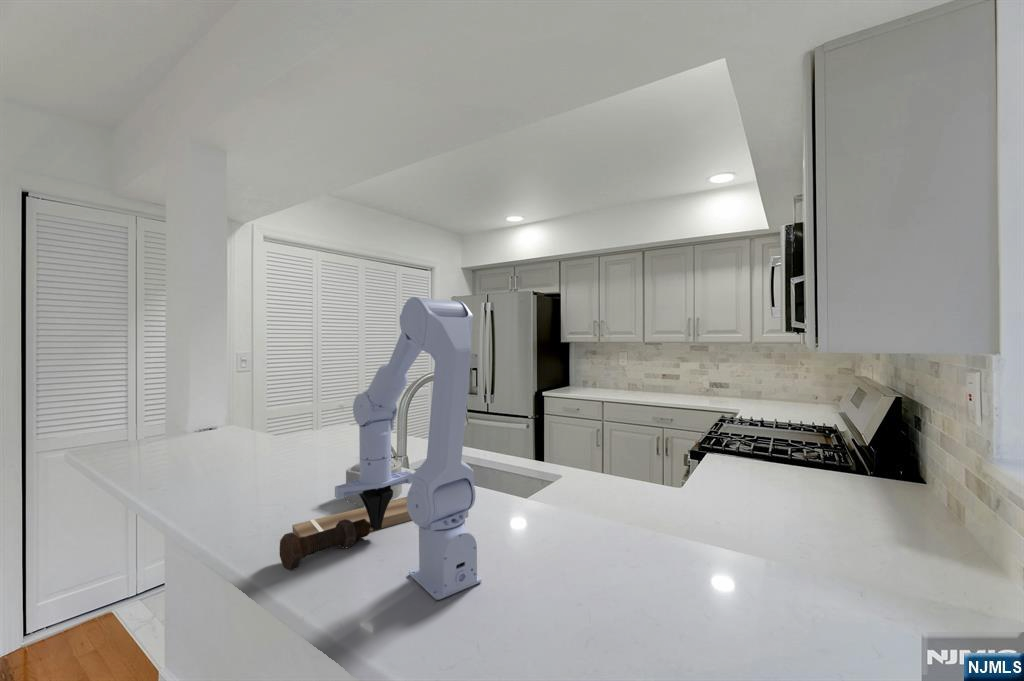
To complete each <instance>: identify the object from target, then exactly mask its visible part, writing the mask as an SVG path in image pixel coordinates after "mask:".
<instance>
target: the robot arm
mask: <svg viewBox="0 0 1024 681" xmlns="http://www.w3.org/2000/svg"><path fill="white" fill-rule="evenodd" d="M473 321H474V314H473V313H472V312H471V310H470V309H469V308H468V306H467V305H466V304H465V303H464V301H461V300H459V299H458V300H455V299H453V300H447V299H445V300H444V299H435V298H433V299H431V298H421V297H419V296H412V297H410V298H408V299H407V300H406V302H405V303H404V305H403V307H402V310H401V312H400V315H399V327H400V332H401V333H400V335H399V338H398V339H397V343H396V344H395V347H394V349H393V351H392V354H391V356H390V359H389V361H388V363H385V364H384V363H383V364H382V365H381V366H380V367H379V368H378V369H377V372H376V373H375V375H374V377H373V379H372V381H371V383H370V385H369V386H368V388H367V390H366V391H362V393H358V394H357V395H355V398H354V401H353V404H352V413H353V418H354V421H355V422H356V424H357V425H358V427H359V428H358V429H359V439H358V441H359V463H360V479H358V480H355V481H352V482H349V483H346V482H345V483H343V484H339V485H336V486H334V497H335V499H337V500H343V499H344V498H346V497H347V496H351V495H356V494H359V496H360V497H361V499H362V501H363V503H364V505H365V507H366V510H367V513H368V516H369V520H370V525H371V528H372V529H373V530H374V531H378V530H382V528H381V527H382V522H383V518H384V514H385V511H386V509H387V506H388V504H389V502H390V500H391V498H392V497H393V490H392V489H391V486H396V485H400V484H402V485H404V484H408V485H409V484H411V485H410V487H409V490H407V491H408V492H407V496H406V497H407V501H406V503H407V510H408V513H409V516H410V518H411V519H412V520H411V521H412V522H414V524H415V525H417V526H418V567H416V568H412V569H411V570H409V571H408V574H409V576H410V577H411V578H412V579H413V580H414V581H416V583H418V585H420V586H421V587H422V588H423V589H424V590H425V591H426V592H427V593H428V594H429V595H431V597H433V598H434V600H436V601H439V600H442V599H444V598H445V599H446V598H447V597H449V596H452V595H454V594H456V593H459V592H461V591H463V590H465V589H469V588H471V587H473V586H476V585H477V584H480V583H482V580H483V579H482V577H481V576H480V575H478V550H477V549H478V546H477V541H476V539H475V537H474V535H472V533H470V531H469V530H468V527H467V525H466V519H467V518H469V510H471V509H472V508H473V506H474V505H475V502H476V488H475V484H474V483H475V482H474V475H475V474H474V473H475V470H473V468H471V467H472V466H470V465H468V463H466V462H465V461H463V460H462V458H463V449H464V446H463V445H464V438H465V437H464V436H465V428H466V426H465V425H466V418H467V417H466V415H467V405H468V404H467V403H468V395H469V394H468V393H469V385H470V384H469V383H470V373H471V372H470V371H471V361H472V345H471V344H472V336H473V335H472V334H473V324H474V323H473ZM422 351H423V352H424V353H427V354H430V356H431V357H432V359H433V360H434V370H433V382H432V391H431V393H432V394H431V405H430V415H429V416H430V417H429V426H428V427H429V428H428V429H429V430H428V437H427V438H428V441H427V451H426V459H425V460H424V461H423V462H422V464H421V465H420V466H419V467H418V468H417V469H416V470H415V471H414V472H411V471H409V470H408V471H402V472H400V473H391V458H392V431H393V430H394V428H395V419H396V417H397V413H398V407H397V402H398V401H399V398H400V397H401V395H402V393H403V391H404V390H405V388H406V387H407V385H408V383H409V376H408V371H409V369H410V368H411V367H412V365H414V363H415V361H416V359H418V357H419V356H420V354H421V352H422ZM391 501H392V500H391Z"/></svg>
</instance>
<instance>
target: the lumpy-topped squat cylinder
mask: <svg viewBox="0 0 1024 681" xmlns="http://www.w3.org/2000/svg"><path fill="white" fill-rule="evenodd" d="M400 472H403V470H402V462H401V461H400V460H398V459H397V460H396V459H394V458H393V457H391V473H400ZM358 479H360V462H359V463H356V464H355V465H353V466H351V467H347V468H346V470H345V484H346V483H349V482H352V481H355V480H358ZM402 485H403V484H400V485H396V486H391V489H392V490H393V497H392V498H391V500H390V501H392V500H396V499H398V497H400V495H401V494H402V491H403V490H402V488H403V486H402ZM345 501H348V502H347V503H349V502H352V503H351V504H353V503H356V504H355V505H357V504H358V505H357V506H359V505H360V506H359V507H362V506H365V505H364V503H363V501H362V499H361V497H360V496H359V494H356V495H351V496H347V497H345Z"/></svg>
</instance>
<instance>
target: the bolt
mask: <svg viewBox="0 0 1024 681" xmlns="http://www.w3.org/2000/svg"><path fill="white" fill-rule="evenodd" d="M370 528H371V525H370V524H369V522H368V521H367V520H366V519H361V520H358V521H355V522H351V521H350V520H346V519H344V520H341V521H339V522H338V523H337V525H336V527H334V528H332V529H328V530H325V531H321V532H318V533H315V534H312V535H308V536H303V537H298V536H296V535H295V534H293V531H291V532H287V533H285V534H284V535H283V536H281V539H280V541H279V558H280V562H281V565H282V566H283V568H284V569H285V570H289V571H292V570H295V569H298V568H299V566H300V563H301V560H302V559H304V558H307V557H309V556H311V555H314V554H317V553H320V552H323V551H327V550H329V549H332V548H335V547H340V546H341V547H344V548H343V549H345V548H346V547H349V546H351V545H352V546H353V545H354V544H355V542H356V540H360V539H363V538H365V537H368V536H369V535H370V534H371V532H372V531H370ZM339 545H340V546H339ZM352 546H351V547H352ZM341 547H340V548H341ZM349 548H350V547H349ZM346 549H347V548H346Z"/></svg>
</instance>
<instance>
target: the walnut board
mask: <svg viewBox="0 0 1024 681" xmlns="http://www.w3.org/2000/svg"><path fill="white" fill-rule="evenodd" d="M406 501H407V496H406V497H401V498H395V499H393V500H391V501H390V502H389V504H388V506H387V509H386V511H385V514H384V518H383V522H382V527H381V529H385V528H388V527H392V526H396V525H398V524H399V525H400V524H402V523H406V522H410V521H413V520H412V519H411V518H410V516H409V513H408V510H407V503H406ZM344 519H346V520H350V521H351V522H355V521H358V520H361V519H366V520H367V521H368V522H369V524H370V520H369V516H368V513H367V510H366V507H360V508H356V509H352V510H348V511H343V512H339V513H336V514H332V515H328V516H324V517H320V518H316V519H314V518H312V519H310V520H306V521H303V522H299V523H295V524H292V528H291V529H292V533H293V534H295V535H296V536H298V537H303V536H308V535H312V534H315V533H318V532H321V531H325V530H328V529H332V528H334V527H336V525H337V523H338V522H339V521H341V520H344ZM372 530H373V529H372V528H370V531H371V532H373V531H372Z"/></svg>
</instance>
